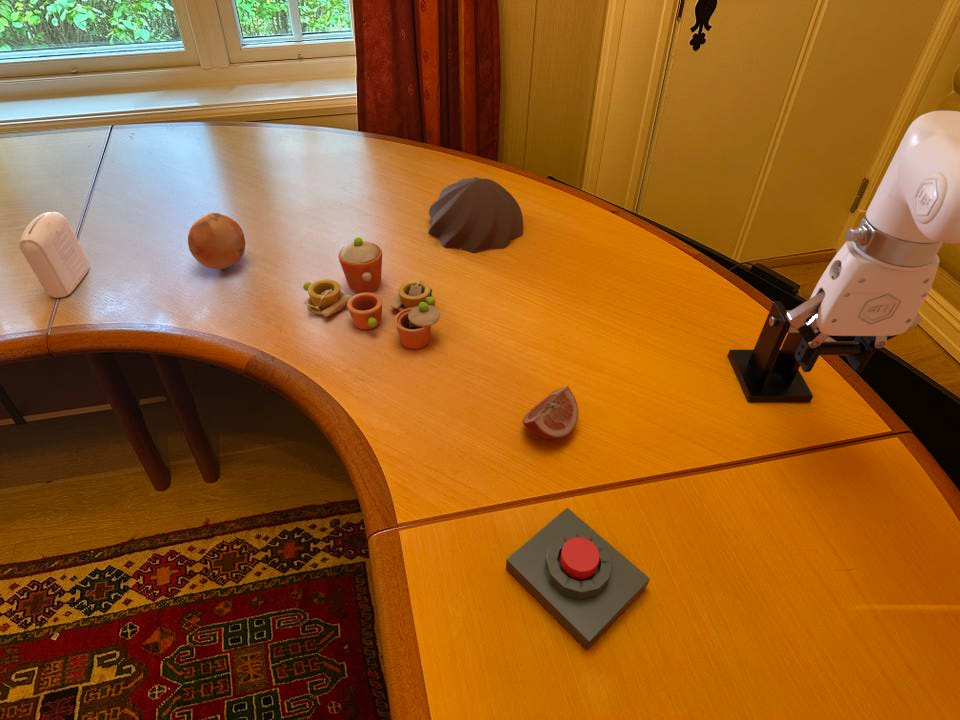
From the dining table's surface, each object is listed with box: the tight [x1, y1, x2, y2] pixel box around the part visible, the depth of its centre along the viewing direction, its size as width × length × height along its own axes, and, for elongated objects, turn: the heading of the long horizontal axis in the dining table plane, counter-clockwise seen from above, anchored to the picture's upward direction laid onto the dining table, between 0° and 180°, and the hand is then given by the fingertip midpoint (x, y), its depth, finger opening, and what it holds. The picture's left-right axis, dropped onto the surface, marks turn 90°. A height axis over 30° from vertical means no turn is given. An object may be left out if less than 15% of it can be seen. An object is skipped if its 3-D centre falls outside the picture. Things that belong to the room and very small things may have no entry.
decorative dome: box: [427, 176, 524, 254], centre depth 119 cm, size 19×20×10 cm
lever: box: [785, 309, 864, 356], centre depth 78 cm, size 13×6×2 cm, turn 179°
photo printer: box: [18, 211, 91, 299], centre depth 104 cm, size 10×4×12 cm, turn 4°
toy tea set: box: [302, 236, 441, 350], centre depth 99 cm, size 26×16×10 cm, turn 59°
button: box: [560, 537, 600, 579], centre depth 64 cm, size 4×4×2 cm
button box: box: [505, 507, 651, 651], centre depth 66 cm, size 12×10×4 cm
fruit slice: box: [522, 385, 579, 440], centre depth 82 cm, size 8×7×5 cm
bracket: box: [727, 301, 819, 403], centre depth 86 cm, size 10×9×13 cm
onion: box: [187, 212, 246, 270], centre depth 109 cm, size 10×10×10 cm
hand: (828, 363), depth 75 cm, fingers closed on lever, 5 cm apart
